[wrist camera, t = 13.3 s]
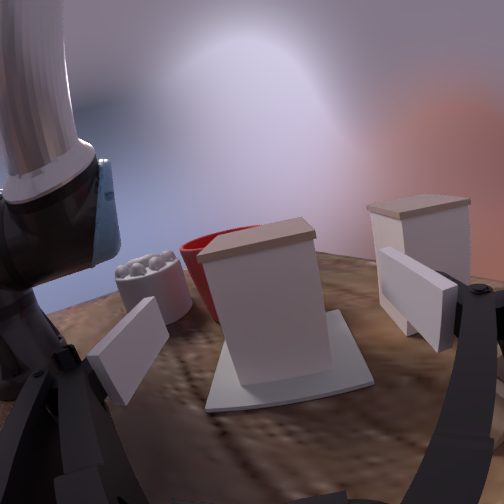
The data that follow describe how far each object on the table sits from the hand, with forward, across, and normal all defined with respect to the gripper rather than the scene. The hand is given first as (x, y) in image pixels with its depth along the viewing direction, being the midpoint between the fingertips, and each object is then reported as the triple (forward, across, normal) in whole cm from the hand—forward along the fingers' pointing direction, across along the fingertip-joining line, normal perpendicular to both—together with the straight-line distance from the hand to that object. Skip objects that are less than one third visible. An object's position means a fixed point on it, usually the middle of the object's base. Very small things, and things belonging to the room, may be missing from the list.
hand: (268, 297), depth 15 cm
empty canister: (+8, +14, -8) cm, 18 cm away
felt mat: (+6, 0, -8) cm, 10 cm away
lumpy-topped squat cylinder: (+23, -19, -8) cm, 31 cm away
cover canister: (+6, 0, -8) cm, 10 cm away
